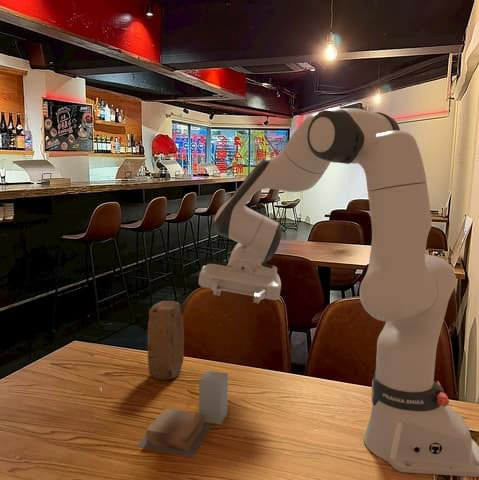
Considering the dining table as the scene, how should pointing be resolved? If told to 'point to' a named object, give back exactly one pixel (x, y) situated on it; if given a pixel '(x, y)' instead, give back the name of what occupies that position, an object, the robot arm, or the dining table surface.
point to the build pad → (175, 451)
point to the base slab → (175, 429)
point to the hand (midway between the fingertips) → (236, 296)
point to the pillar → (213, 396)
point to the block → (165, 340)
